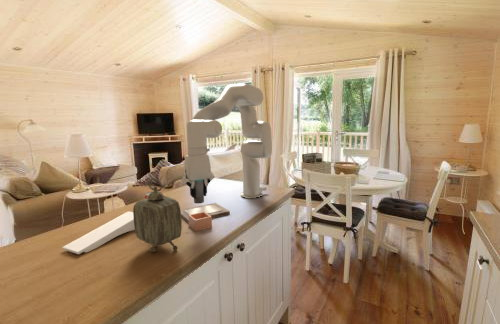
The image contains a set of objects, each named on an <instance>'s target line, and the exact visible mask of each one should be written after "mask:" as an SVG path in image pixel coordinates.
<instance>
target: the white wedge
mask: <svg viewBox="0 0 500 324" xmlns="http://www.w3.org/2000/svg"><path fill="white" fill-rule="evenodd" d="M132 231H135V227H134V216H133V211H129V210H128V211H126V212H123V214H121V215H119V216H117V217H115V218H113V219H111V220H110V221H108V222H106V223H104V224H103V225H100V226H98V227H97V228H95V229H93V230H91V231H90V232H87V233H86V234H84V235H82V236H80V237H78V238H77V239H75V240H73V241H71V242H69V243H67V244H66V245H63V246H62V247H61V248H62V250H63V251H67V252H69V253H73V254H76V255H80V254H82V253H89V252H90V251H94V250H95V249H97V248H99V247H101V246H102V245H104V244H105V243H108V242H109V241H111V240H113V239H114V238H116V237H118V236H121V235H123V234H125V233H127V232H132Z"/></svg>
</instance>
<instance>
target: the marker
mask: <svg viewBox="0 0 500 324" xmlns="http://www.w3.org/2000/svg"><path fill="white" fill-rule="evenodd" d="M194 188H195V191H196V197H195V198H193V202H194V204H202V203H205V196H204V186H203V179H199V180H196V181H195V184H194Z"/></svg>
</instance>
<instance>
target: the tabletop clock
mask: <svg viewBox="0 0 500 324" xmlns="http://www.w3.org/2000/svg"><path fill="white" fill-rule="evenodd" d="M151 181H155V182H158V184H159V185H160V188H158V186H154V187H152V186H151ZM147 183H148V184H147V185H148V188H149V189H151V190H152V191H150V192H151V193H150V194H149V196H148V198H147V199H144V198H143V199H141V200H139V201H137V202H135V203H134V205H133V208H132V210H133V211H132V212H133V216H134V227H135V230H134V232H135V233H134V234H135V236H136V238H137V239H138V240H140V241H142V242H145V243H147V244H150V245H152V246H153V247H151V250H150V251H151V253H155V252H157V248H156V246H164V245H166V244H167V243H169V244H170V245H171V246H172V249H173V251H177V250H178V245H175V244H174V243H173V241H174V240H177V239H178V238H181V235H182V231H183V230H182V227H183V226H182V221H183V220H182V217H181V211H180V210H181V205H180V204H179V201H178V200H176V199H175V198H173V197H169V196H167V195H164V194H163V193H162V191H161V190H162V189H163V184H162V182H161V180H160V179H158V178H154V177H153V178H152V177H151V178H150V179H149V180H148V182H147Z"/></svg>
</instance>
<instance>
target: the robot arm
mask: <svg viewBox="0 0 500 324" xmlns="http://www.w3.org/2000/svg"><path fill="white" fill-rule="evenodd" d="M263 101H264V93H263V91H262V90H261V89H260V88H259V87H257V86H254V85H252V84H249V83H237V84H236V83H233V84H228V85H226V86H225V87H224V88H223V90H222V91H221V92H220V94H219V95H218V96H217V98H216V99H215V101H213V102H212V103H210V104H208V105H206V106H205V107H203V108H202V109H200V110H198V111H197V112H196V113H195V115H193V117H192V118H191V120H189V121H187V122H186V144H187V148H186V149H187V154H186V155H185V157H184V164H183V167H184V168H183V176H182V178H181V180H180V181H181V183H183V184H184V185H186V186H187V187H189V195H190V196H191V197H192V198H193V199H194V198H195V197H196V191H195V188H194V184H195V181H196V180H199V179H203V186H204V197H206V196H207V193H208V186H209V184H210V183H211V181H213V180H214V179H215V176H214V174H213V172H212V170H211V169H212V168H211V162H210V161H211V160H210V156H209V154H208V152H210V151H211V150H210V149H211V148H210V147H208V145H207V144H208V143H207V139H215V138H218V137H219V136H221V134H222V132H223V126H222V124H221V123H220V122H219V121H218V120H220V119H222V118H225V117H227V116H229V115H230V113H231V112H232V110H233V109H234V108H235V107H236V108H237V110H238V111H239V113H240V119H241V120H240V121H241V133H242V136H243V137H244V138H246V139H252V140H245V141H243V142H242V143H241V144H240V153H241V158H242V184H243V185H242V192H240V197H241V198H243V197H245V198H244V199H251V198H252V199H257V198H256V197H259V198H261V197H260V196H262V197H263V191H264V192H265V191H267V190H268V188H267V186H266V187H264V186H261V183H260V182H261V178H260V177H261V174H260V173H261V172H260V171H261V169H260V168H261V166H260V163H259V161H258V159H269V158H271V156H272V154H273V140H272V139H273V137H272V128H271V125H270V123H269V122H268V121H265V120H258V118H257V116H258V115H257V110H256V109H255V107H259V106H260V105H261V104H263ZM253 139H259V140H253Z"/></svg>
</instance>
